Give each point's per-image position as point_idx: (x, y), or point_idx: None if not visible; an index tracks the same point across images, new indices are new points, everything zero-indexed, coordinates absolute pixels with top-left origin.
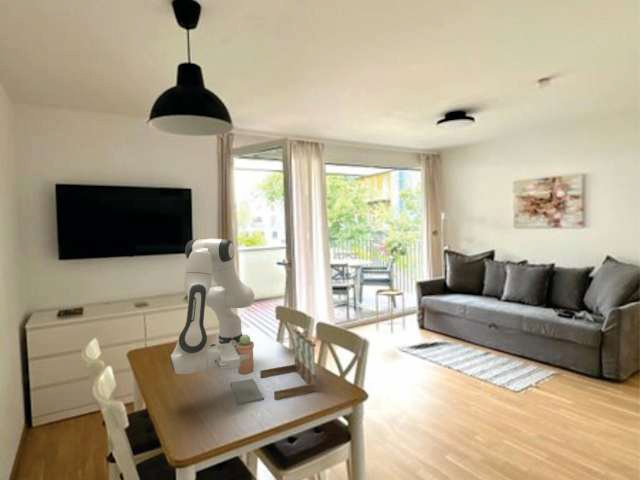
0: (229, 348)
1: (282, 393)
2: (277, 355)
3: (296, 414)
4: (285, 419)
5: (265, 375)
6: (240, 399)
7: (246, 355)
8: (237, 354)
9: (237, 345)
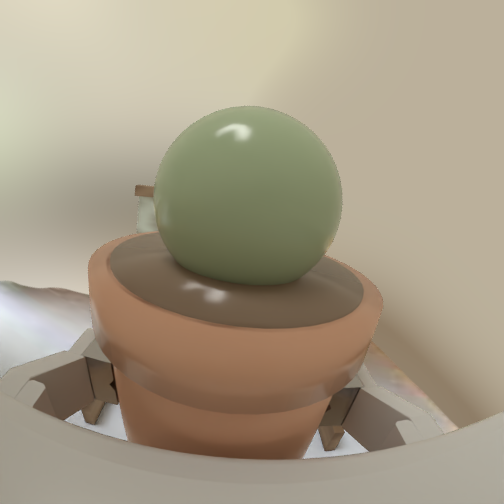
0: (10, 493)
1: None
2: (8, 309)
3: (424, 410)
4: (449, 431)
5: (100, 406)
6: None
7: (370, 386)
8: (460, 436)
9: (304, 341)
